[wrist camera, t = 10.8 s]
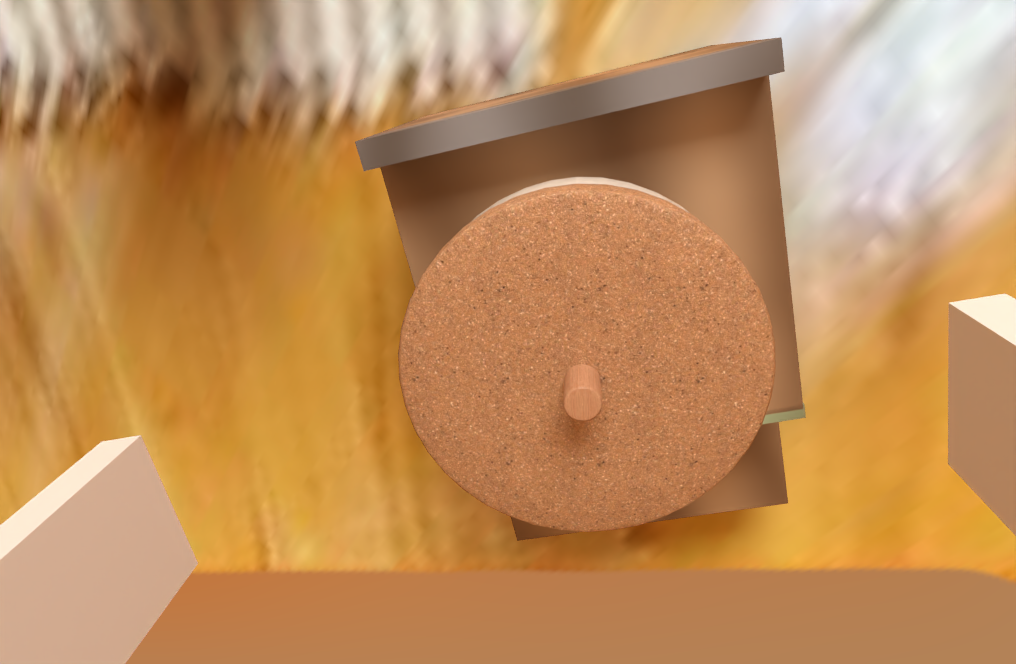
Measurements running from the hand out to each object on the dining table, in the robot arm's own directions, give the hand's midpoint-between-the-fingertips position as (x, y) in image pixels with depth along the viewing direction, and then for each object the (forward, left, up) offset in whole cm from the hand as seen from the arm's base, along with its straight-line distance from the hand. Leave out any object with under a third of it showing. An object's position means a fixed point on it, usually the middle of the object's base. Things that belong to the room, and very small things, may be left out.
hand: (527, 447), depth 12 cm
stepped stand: (+1, -6, -26) cm, 27 cm away
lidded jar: (0, -3, -16) cm, 16 cm away
